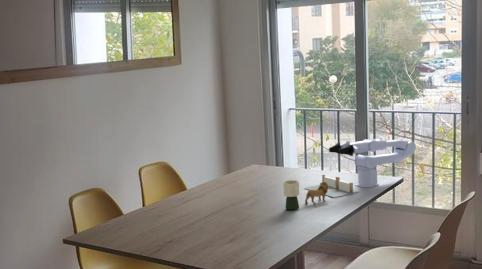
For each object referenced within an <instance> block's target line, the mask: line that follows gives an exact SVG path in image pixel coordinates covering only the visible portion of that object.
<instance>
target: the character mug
mask: <svg viewBox="0 0 482 269" xmlns="http://www.w3.org/2000/svg"><path fill="white" fill-rule="evenodd" d="M283 195H284V196H285V197H286V199H285V210H290V211H291V210H293V211H295V210H299V208H300V204H299V200H298V196H299V195H300V182H299V180H297V179H291V180H290V179H289V180H285V181H283Z"/></svg>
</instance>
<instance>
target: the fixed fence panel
mask: <svg viewBox="0 0 482 269" xmlns="http://www.w3.org/2000/svg"><path fill="white" fill-rule="evenodd" d="M335 179H336V189H340V190H344V191H347V192H350V193H353V190H354V183H353V182H347V181H344V180H341V178H340V176H335Z"/></svg>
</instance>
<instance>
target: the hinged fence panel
mask: <svg viewBox="0 0 482 269" xmlns="http://www.w3.org/2000/svg"><path fill="white" fill-rule="evenodd" d="M321 179H322V180H321V182H326V183H327V184H328V185H329V186H332V187H336V178H334V177H333V178H332V177H329V176H326V174H322V175H321Z"/></svg>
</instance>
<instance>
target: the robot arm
mask: <svg viewBox="0 0 482 269" xmlns="http://www.w3.org/2000/svg"><path fill="white" fill-rule="evenodd" d="M387 148H393V152H392V153H391V152H390V153H386V154H385V153H384V154H378V155H377V154H376V155H362V154H360V153H365V152H372V153H375V152H377V151H383V150H384V151H385V150H386V149H387ZM416 150H417V144H416V142H414V141H407V140H403V139H392V140H386V139H385V138H382V137H379V138H378V139H375V138H372V139H363V140H360V141H354V142H351V141H350V140H346V142H345V143H344V144H341V142H336V144H334V145H332V146H330V147H329V148H328V153H336V154H339V155H348V156H350V157H353V156H354V154H358V155H356V156H355V158H354V164H355V166H356V167H357V168H356V169H357V179H358V180H357V181H358V182H357V183H354V186H356V187H360V188H364V189H366V188H371V187H376V186H379V183H378V172H377V169H376V167H378V166H379V165H386V164H388V165H389V164H394V163H400V162H403V161H404V160H405V159H407V158H408V157H410V156H413V155H414V154H415V151H416Z"/></svg>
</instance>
